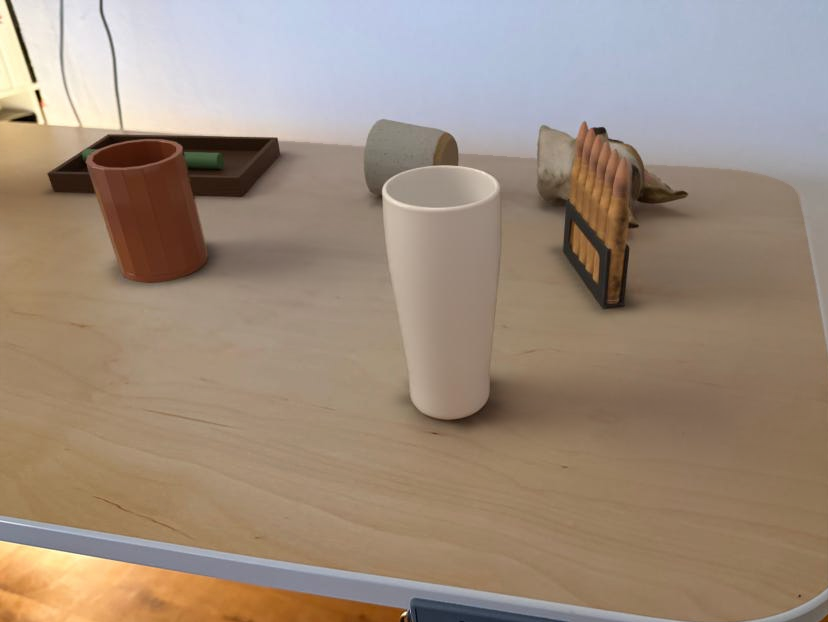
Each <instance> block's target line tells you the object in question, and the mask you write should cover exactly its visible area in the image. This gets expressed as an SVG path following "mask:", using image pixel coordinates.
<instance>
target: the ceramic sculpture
mask: <svg viewBox="0 0 828 622" xmlns="http://www.w3.org/2000/svg"><path fill="white" fill-rule="evenodd" d="M592 128H593V129H594V132H595V136H596V137H597V135H598V134H600V135H601V137H602V141H603V145H604V144H605V142H606V141H607V142H609V145H610V148H611V154H612V152H613V150H614V149H617V151H618V154H619V159H620V161H621V160H622V158H623V157H625V158H626V159H627V162H628V167H629V177H630V184H629V204H628V207H629V223H628V229H638V228H639V226H640V225H639V223H638V222H637V220H635V219H636V218H635V216H634V212H633V208H632V206H634V204H635V203H636V202H639V203H641V204H647V205H657V204H658V205H659V204H664V203H669V202H674V201H678V200H681V199H685V198H688V196H689V192H687V191H685V190H675V189H672V188H671V187H670V186H669V184H667V183H665V182H662V180H661V178H660V177H658V176H657V175H656V174H654V173H652V172H649V171H648V169H646V168H645V165H644V161H643V160H642V157H641V155H640V154H639V152H638V150H637V149H636V148H635V147H634V146H633V145H631V144H629V143H625V142H624V141H622V140H619V139H612V138H610V137H609V134H608V132H607V129H606V128H605V127H604V126H598V127H596V126H593V127H592ZM588 131H589V129H588ZM537 139H538V140H537V145H536V146H537V151H536V158H537V159H536V161H537V163H536V164H537V170H536V175H537V179H536V188H537V193H538V194H539V196H540V197H541V199H542V200H544V201H545V202H553V201H558V200H561V199H563V200H564V201H566V200H567V199H570V186H571V173H572V168H573V165H574V157H575V149H576V142H577V137H575V138H574V137H573V136H571V135H569V134H568V133H567V132H564V131H560V130H558V129H556V128H555V129H554V128H551V127H550V126H548V125H546V124H542V125H541V126H540V127H539V131H538V138H537Z"/></svg>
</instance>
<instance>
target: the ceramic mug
mask: <svg viewBox="0 0 828 622" xmlns="http://www.w3.org/2000/svg"><path fill="white" fill-rule="evenodd" d="M459 159H460V158H459V147H458V142H457V140H456V139H455V137H454V136H453V135H452V134H451V133H449V132H447V131H445V130H442V129H439V128H434V127H429V126H423V125H418V124H411V123H407V122H401V121H396V120H391V119H385V118H382V119H379V120H377V121H375V123H374V124H373V125H372V127H371V128H370V130H369V132H368V135H367V137H366V141H365V146H364V151H363V174H364V181H365V184H366V187H367V189H368V190H369V192H370V193H372V194H373V195H376V196H382V188H383V186H384V184H385V183H386V182H387V181H388V180H389V179H390V178H392V177H393V176H395V175H397V174H399V173H402V172H405V171H408V170H411V169H416V168H421V167H428V166H459V161H460V160H459Z"/></svg>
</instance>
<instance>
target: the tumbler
mask: <svg viewBox="0 0 828 622" xmlns="http://www.w3.org/2000/svg"><path fill="white" fill-rule="evenodd" d="M86 165H87V168H88V171H89V174H90V177H91V180H92V184H93V187H94V190H95V193H94V194H95V196H96V199H97V202H98V205H99V208H100V212H101V215H102V219H103V221H104V224H105V227H106V230H107V234H108V237H109V240H110V244H111V247H112V249H113V253H114V255H115V259H116V262H117V265H118V267H119V269H120V273H121V274H122V275H123V276H124V278H127V279H129V280H131V281H135V282H141V283H161V282H167V281H172V280H177V279H179V278H183V277H185V276H188V275H191V274H193V273H194V272H197V271H198V270H200V269H201V268H202V267H203V266H205V264H206V263H207V262H208V260H209V253H208V250H207V243H206V238H205V235H204V231H203V226H202V222H201V218H200V214H199V210H198V206H197V201H196V199H195V198H196V197H195V195H194V193H193V188H192V184H191V180H190V176H189V172H188V168H187V163H186V159H185V155H184V151H183V147H182V146H181V145H180V144H178V143H177V142H174V141H169V140H163V139H142V140H132V141H126V142H121V143H116V144H112V145H109V146H106V147H103V148H101V149H98V150H96V151H94V152H93V153H91V154H90V155H88V157H87V160H86Z"/></svg>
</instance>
